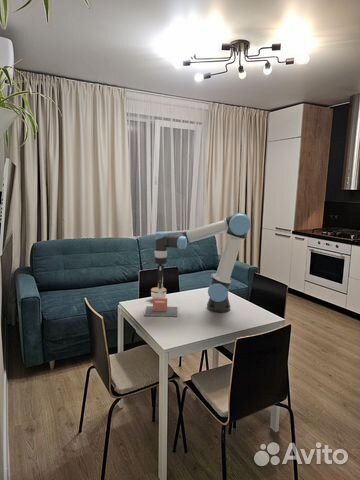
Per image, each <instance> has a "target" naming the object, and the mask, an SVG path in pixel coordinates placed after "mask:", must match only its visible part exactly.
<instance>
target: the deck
mask: <svg viewBox="0 0 360 480" xmlns="http://www.w3.org/2000/svg"><path fill="white" fill-rule="evenodd" d="M152 306H153V311H167V307H168V297H165V298H157V297H153V298H152Z"/></svg>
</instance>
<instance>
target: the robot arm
mask: <svg viewBox="0 0 360 480" xmlns="http://www.w3.org/2000/svg"><path fill="white" fill-rule="evenodd" d="M251 224H252V223H251V220H250V218H249V216H248V215H247V214H246V213H244V212H236V213H234V214H232V215H230V216H227V217H224V219H222V220H220V221H216V222H213V223H209V224H206V225H203V226H199V227H197V228H192V229H190V230H187V231H184V232H178V233H177V234H175V235H169V234H168V232H167V231H157V232H155V233H154V234H155V235H154V251H153V253H154V263H155V264H156V265H157V267H156V268H157V274H158V275H157V276H158V277H157V281H156V284H157V287H158V294H162V288H164V284H163V283H164V277H165V274H164V271H165V270H164V269H165V266H164V265H165V264H167V262H168V258H167V256H168V249H180V250H181V249H184V250H185V249H186V248H187V245H188V244H189V243H192V242H196V241H200V240H203V239H207V238H209V237H213V236H217V235H220V234H223V233H226V235H227V238H226V242H225V245H224V248H223V251H222V253H221V254H222V255H221V256H220V257H221V258H220V260H219V264H218V267H217V270H216V272H215V273H211V275H210V283H209V285H208V286H209V287H208V288H207V289H208V290H207V294H208V297H209V298H208V301H207V305H206V309H207V310H209V311H210V312H214V313H227V312H229V311H231V304H230V300H229V290H230V287H231V283H232V279H231V276H232V273H233V270H234V267H235V264H236V261H237V258H238V255H239V251H240V248H241V244H242V242H243V241H245V240H246V238H247V235H248V233H249V231H250V229H251Z"/></svg>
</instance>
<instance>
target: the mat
mask: <svg viewBox="0 0 360 480" xmlns="http://www.w3.org/2000/svg"><path fill="white" fill-rule="evenodd" d="M143 316H144V317H149V318H150V317H151V318H152V317H155V318H157V317H158V318H159V317H163V318H166V317H167V318H169V317H170V318H178V306H167V311H153V305H152V306H151V305H147V306H146V308H145V311H144V315H143Z"/></svg>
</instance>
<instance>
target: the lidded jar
mask: <svg viewBox="0 0 360 480" xmlns="http://www.w3.org/2000/svg"><path fill="white" fill-rule="evenodd" d="M150 295H151V296H150V297H151V298H152V299H153V297H157V298H166V297H167V296H166V295H167V288H165V287H162V294H158V286H156V287H152V288H151V289H150Z"/></svg>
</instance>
